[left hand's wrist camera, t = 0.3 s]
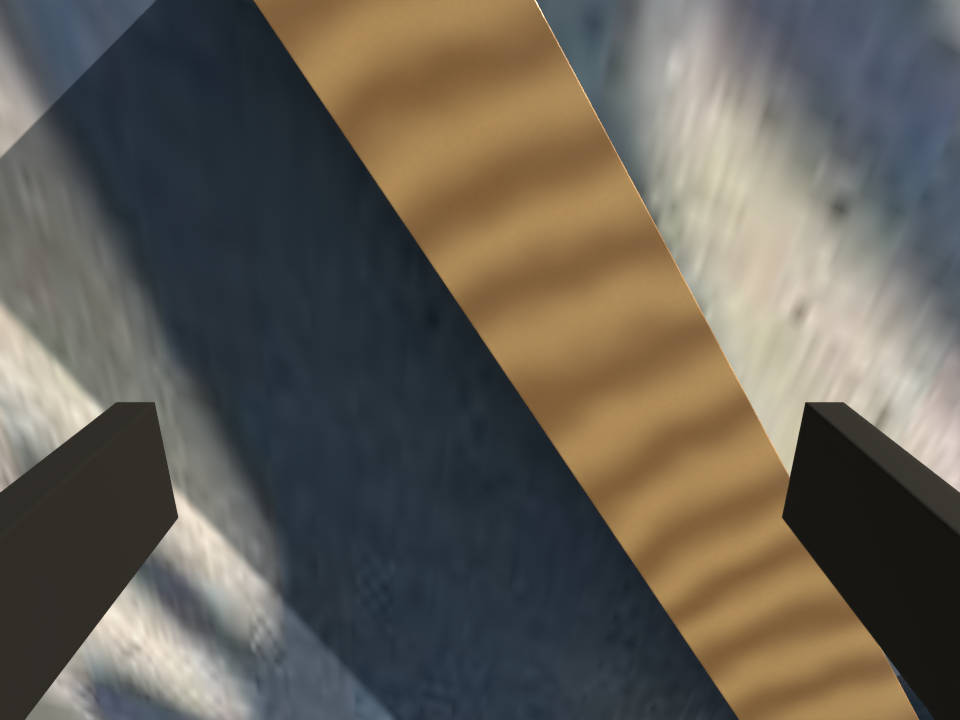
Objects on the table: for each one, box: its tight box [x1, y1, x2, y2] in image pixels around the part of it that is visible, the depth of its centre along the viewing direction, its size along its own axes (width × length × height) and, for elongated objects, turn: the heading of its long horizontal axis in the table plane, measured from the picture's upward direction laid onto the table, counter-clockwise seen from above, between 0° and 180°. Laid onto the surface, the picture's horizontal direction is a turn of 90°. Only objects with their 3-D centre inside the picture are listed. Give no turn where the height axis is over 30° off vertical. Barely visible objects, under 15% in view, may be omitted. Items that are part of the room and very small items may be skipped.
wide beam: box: [253, 0, 919, 720], centre depth 40 cm, size 80×10×7 cm, turn 33°
